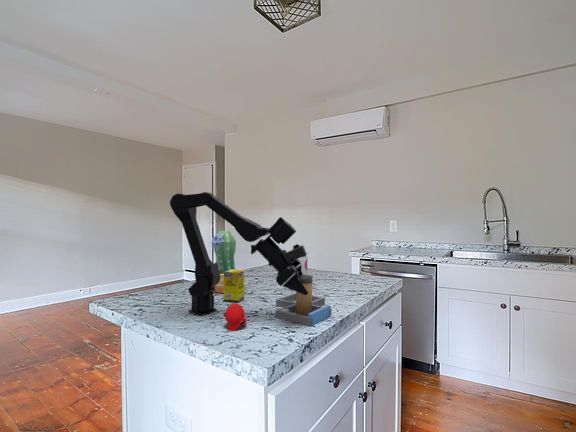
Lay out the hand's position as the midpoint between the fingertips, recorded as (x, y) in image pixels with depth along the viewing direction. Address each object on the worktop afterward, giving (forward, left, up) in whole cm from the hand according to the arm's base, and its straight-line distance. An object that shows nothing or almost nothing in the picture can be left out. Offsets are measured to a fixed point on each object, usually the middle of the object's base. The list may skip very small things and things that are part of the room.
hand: (308, 290), depth 98 cm
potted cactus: (+8, +46, -8) cm, 48 cm away
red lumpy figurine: (-20, +12, -8) cm, 24 cm away
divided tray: (+4, +5, -8) cm, 11 cm away
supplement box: (-1, +32, -8) cm, 33 cm away
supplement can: (+29, +24, -8) cm, 39 cm away
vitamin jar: (-1, +1, -8) cm, 8 cm away
